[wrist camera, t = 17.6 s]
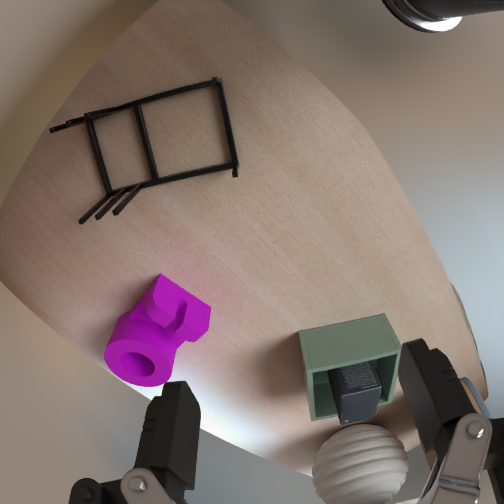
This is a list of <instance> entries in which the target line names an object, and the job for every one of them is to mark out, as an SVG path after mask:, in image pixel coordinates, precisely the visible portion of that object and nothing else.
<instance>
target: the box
mask: <svg viewBox="0 0 504 504" xmlns="http://www.w3.org/2000/svg"><path fill="white" fill-rule="evenodd" d="M328 378H329V382H330V386H331V390H332V393H333V397H334V401H335V405H336V409H337V413H338V417H339V420H340V424H341V425H343V424H346V423H351V422H355V421H360V420H364V419H368V418H372V417H375V414H376V410H377V405H378V401H379V396H380V391H381V384H380V382H379V379H378V377H377V374H376V372H375V369H374V367H373V364H372V362H371V360H370V361H366V362H362V363H357V364H353V365H348V366H344V367H339V368H334V369H329V370H328Z"/></svg>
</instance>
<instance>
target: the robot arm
mask: <svg viewBox="0 0 504 504" xmlns="http://www.w3.org/2000/svg"><path fill="white" fill-rule="evenodd" d="M401 1H402V2H403V3H404V5H405V6H406V7H407V8H408V9H410V10H411V11H412V12H413V13H415V14H416V15H418V16H419V17H421V18H423V19H426V20H429V21H433V22H441V21H446V20H450V19H452V18H457V17H463V16H468V15H474V14H480V13H487V12H494V11H501V10H504V0H401ZM398 377H399V382H400V385H401V387H402V390H403V392H404V395H405V397H406V400H407V402H408V405H409V408H410V410H411V413H412V415H413V418H414V421H415V424H416V426H417V429H418V432H419V435H420V437H421V440H422V443H423V446H424V449H425V452H426V453H428V452H431V451H433V450H435V452H436V455H437V458H436V460H435V463H434V466H433V468H432V471H431V473H430V475H429V478H428V480H427V483H426V485H425V487H424V489H423V492H422V494H421V496H420V498H419V500H418V502H417V504H477V502H478V499H479V495H480V488H479V487H478V485H479V480H480V477H481V474H482V471H483V470H484V469H485V470H486V469H487V471H488V474H489V477H490V480H491V484H492V487H493V491H494V494H495V498H496V502H497V504H504V418H498V419H489V418H487V417H486V416H484V415H482V414H479V413H478V412H477V411H476V410H475V408H474V407H473V405H472V403H471V401H470V399H469V397H468V395H467V393H466V391H465V389H464V387H463V385H462V383H461V381H460V379H459V378H458V377H457V374H456V372H455V370H454V369H453V366H452V365H451V363H450V361H449V359H448V357H447V356H446V355H445V354H443V353H442V352H441V351H440V350H438V349H437V348H435V349H432V350H429V348H428V346H427V344H426V342H425V341H424V340H423V339H422V338H420V339H416V340H413V341H409V342H406V343H403V344H402V348H401V354H400V360H399V366H398ZM200 420H201V411H200V406H199V403H198V401H197V400H196V398H195V396H194V394H193V393H192V391H191V389H190V387H189V386H188V384H187V382H186V381H175V382H166V383H165V384H164V386H163V390H162V395H161V396H155V397H154V398H153V400H152V401H151V403H150V404H149V405H148V407H147V411H146V415H145V421H144V425H143V431H142V433H141V438H140V442H139V447H138V452H137V457H136V461H135V465H134V467H133V469H132V470H130V471H128V472H127V473H126V474H125V475H124V476H123V478H122V479H119V480H115V481H110V482H105V483H98V482H96V481H95V480H93V479H90V478H83V479H80V480H78V481H77V482H76V483H75V484H74V485H73V487H72V490H71V494H70V499H69V504H187V502H186V501H185V499H184V491H185V490H194V485H195V473H196V462H197V451H198V440H199V430H200Z"/></svg>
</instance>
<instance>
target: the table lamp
mask: <svg viewBox="0 0 504 504" xmlns="http://www.w3.org/2000/svg"><path fill="white" fill-rule="evenodd" d="M408 468H409V465H408V462H407V453H406V451H405V450H404V446H403V443H402V442H401V441H400V440H398V439H397V437H396V435H395V434H394V433H393V432H390V431H387V430H386V429H385V428H383V427H381V426H377V425H370V424H359V425H353V426H350V427H347V428H344V429H342V430H340V431H338V432H336V433H335V434H333V435H332V436H331V437H330V438H329V439H328V440H327V441H325V442H324V443H323V445H322V446H321V448H320V450H319V452H318V453H317V454H316V456H315V459H314V466H313V468H312V475H313V484H314V486H315V487H316V493H317V495H318V496H319V497H320V498H322V499H323V501H324V502H325V503H326V504H385V503H386V502H388V501H389V500H390V499H391V498H392V497H394V496H395V495H396V494H397V493H398V491H399V489H400V486H401V485H402V484H403V483H404V482H405V479H406V473H407V471H408ZM418 500H419V498H417V499H412V500H408V501H404V502H400V503H396V504H417V502H418Z"/></svg>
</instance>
